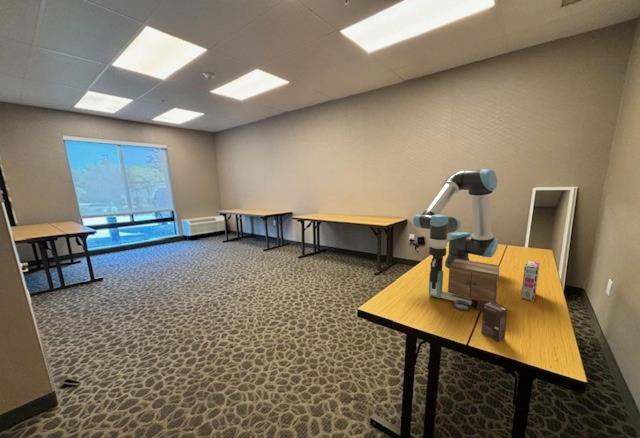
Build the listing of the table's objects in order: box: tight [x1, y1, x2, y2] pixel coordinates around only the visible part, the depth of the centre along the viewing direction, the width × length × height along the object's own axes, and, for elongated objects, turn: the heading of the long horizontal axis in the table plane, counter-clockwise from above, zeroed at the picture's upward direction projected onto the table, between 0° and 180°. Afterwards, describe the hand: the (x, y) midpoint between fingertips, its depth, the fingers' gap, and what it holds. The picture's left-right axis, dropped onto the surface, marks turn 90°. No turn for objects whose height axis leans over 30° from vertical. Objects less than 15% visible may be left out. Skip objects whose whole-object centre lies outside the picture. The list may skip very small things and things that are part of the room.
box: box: [481, 302, 509, 343], centre depth 88 cm, size 6×4×12 cm
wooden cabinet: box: [447, 259, 500, 313], centre depth 113 cm, size 15×18×18 cm
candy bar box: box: [520, 260, 541, 302], centre depth 119 cm, size 11×5×16 cm, turn 135°
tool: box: [428, 270, 473, 306], centre depth 116 cm, size 5×18×12 cm, turn 51°
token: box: [453, 300, 470, 312], centre depth 110 cm, size 6×6×2 cm
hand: (435, 292), depth 121 cm, fingers closed on tool, 5 cm apart
